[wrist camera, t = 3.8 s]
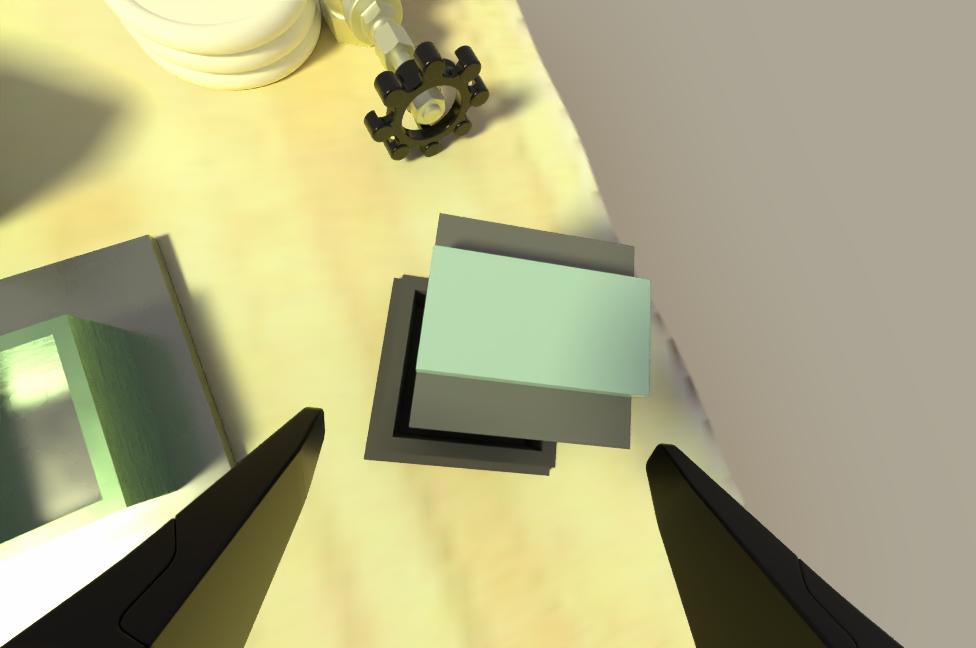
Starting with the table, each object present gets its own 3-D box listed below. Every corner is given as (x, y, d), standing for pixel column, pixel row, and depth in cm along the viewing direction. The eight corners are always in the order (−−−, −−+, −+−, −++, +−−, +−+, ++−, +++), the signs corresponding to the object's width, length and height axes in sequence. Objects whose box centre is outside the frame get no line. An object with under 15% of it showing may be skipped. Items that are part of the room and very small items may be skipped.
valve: (289, 12, 23) (380, 177, 22) (238, -136, 17) (361, 83, 16) (390, -15, 25) (481, 137, 24) (378, -160, 19) (501, 37, 17)
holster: (545, 473, 20) (570, 487, 16) (365, 457, 19) (352, 469, 15) (556, 305, 22) (581, 286, 18) (394, 281, 21) (388, 256, 17)
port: (268, 553, 17) (228, 589, 14) (-59, 718, 15) (-210, 814, 11) (156, 239, 19) (97, 203, 16) (-149, 333, 17) (-300, 314, 13)
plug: (511, 427, 20) (656, 462, 7) (415, 417, 19) (397, 436, 7) (519, 334, 21) (657, 228, 8) (429, 322, 20) (434, 188, 8)
